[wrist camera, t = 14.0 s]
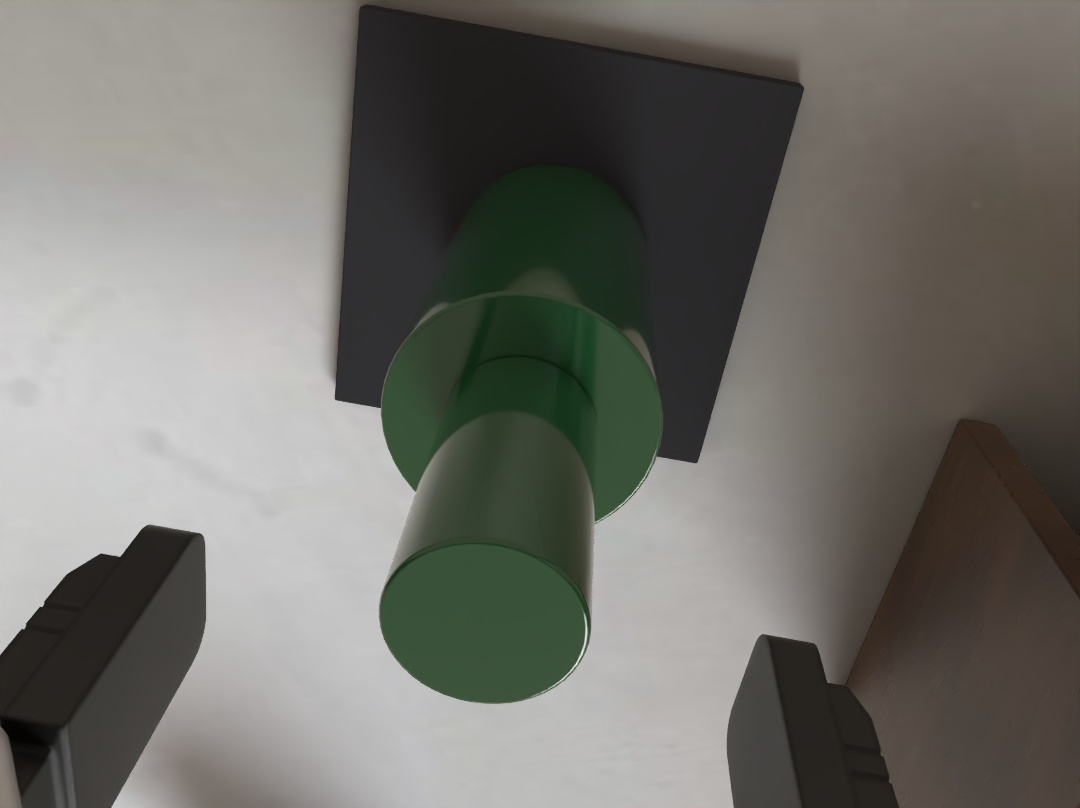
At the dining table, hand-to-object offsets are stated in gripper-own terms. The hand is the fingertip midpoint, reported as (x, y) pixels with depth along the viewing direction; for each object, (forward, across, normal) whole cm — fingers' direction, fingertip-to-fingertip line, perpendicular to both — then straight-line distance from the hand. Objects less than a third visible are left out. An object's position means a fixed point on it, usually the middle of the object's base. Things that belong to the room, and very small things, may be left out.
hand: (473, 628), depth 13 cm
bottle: (+16, 0, 0) cm, 16 cm away
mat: (+17, 0, 0) cm, 17 cm away
